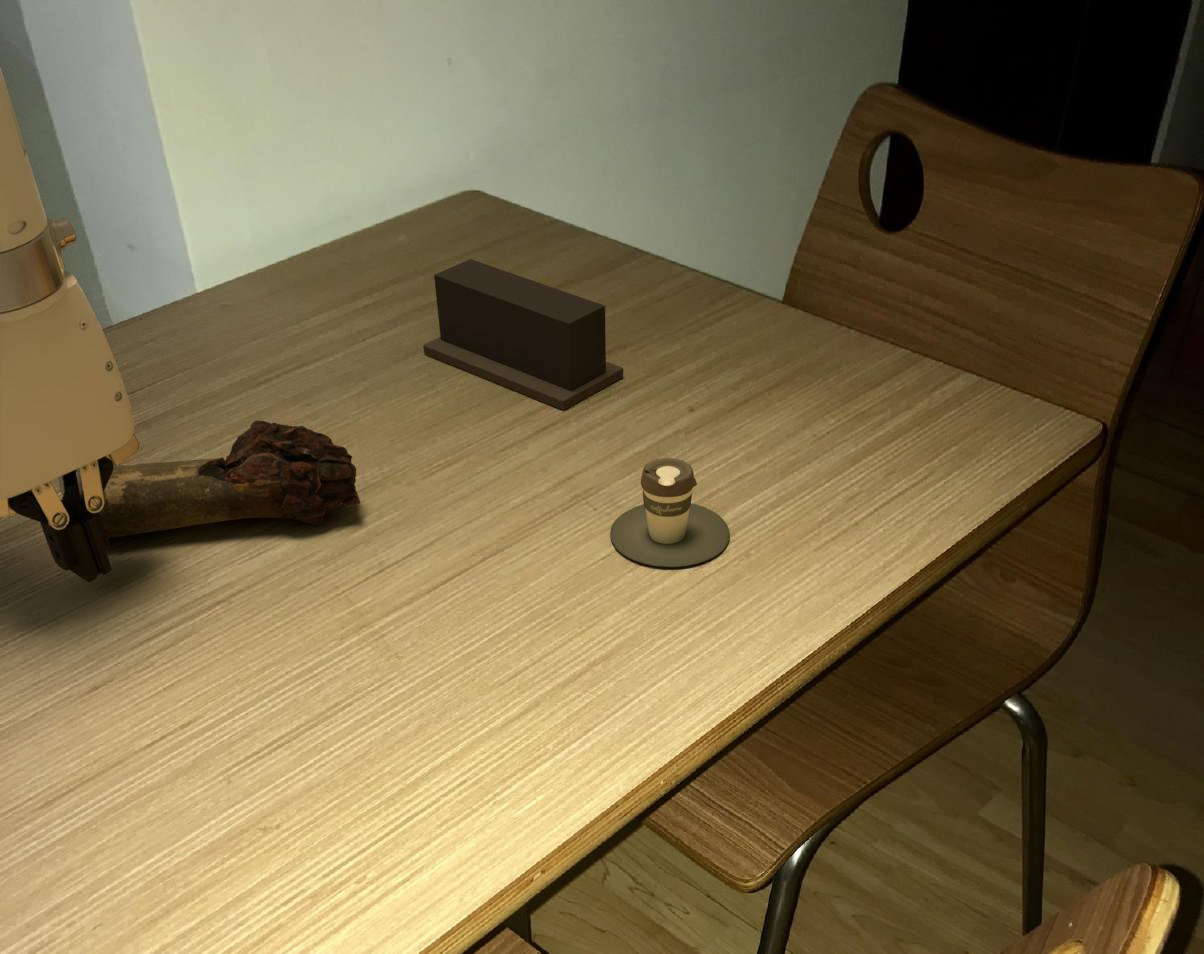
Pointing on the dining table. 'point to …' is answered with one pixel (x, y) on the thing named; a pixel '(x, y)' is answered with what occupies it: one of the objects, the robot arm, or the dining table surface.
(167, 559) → the dining table surface
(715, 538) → the coffee cup
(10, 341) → the robot arm
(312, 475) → the gnarled wood log
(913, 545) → the dining table surface
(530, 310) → the dark brown block stand
